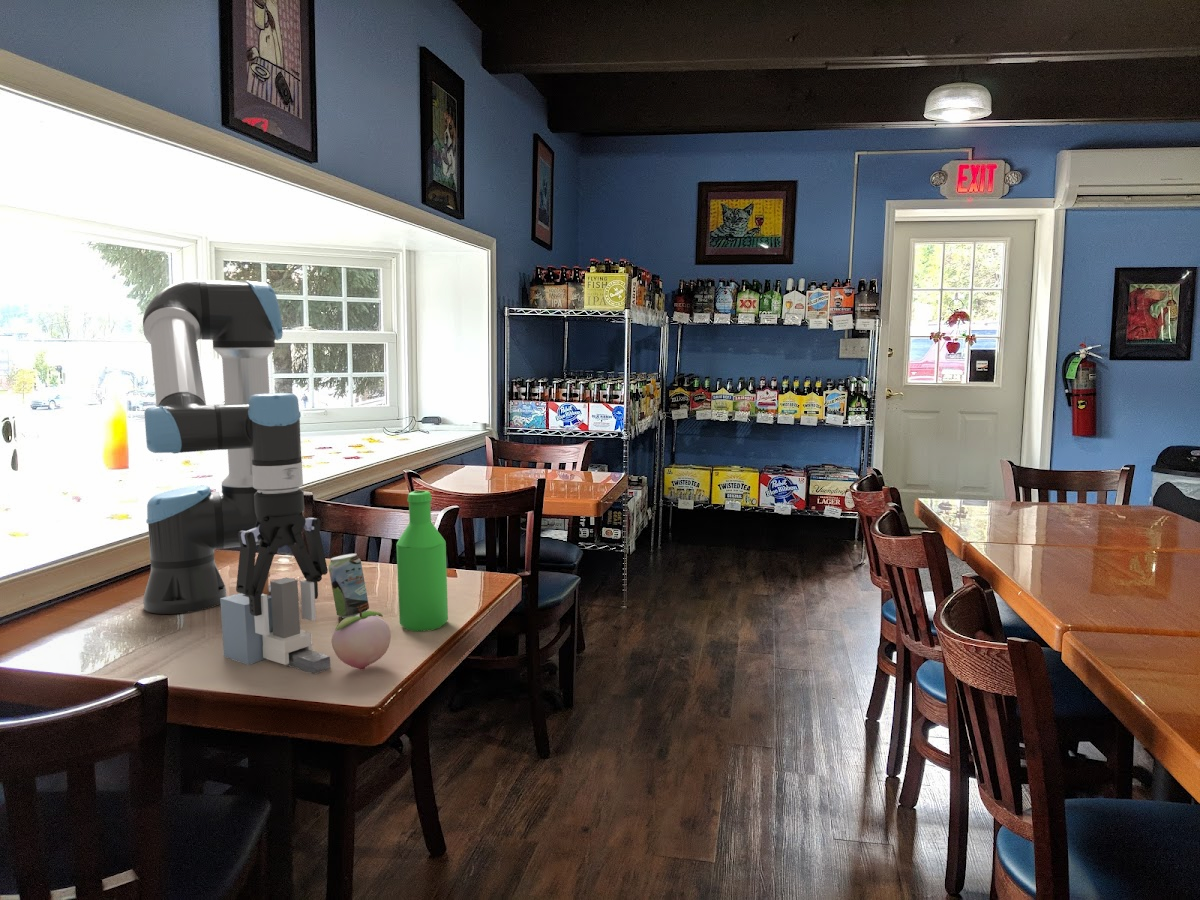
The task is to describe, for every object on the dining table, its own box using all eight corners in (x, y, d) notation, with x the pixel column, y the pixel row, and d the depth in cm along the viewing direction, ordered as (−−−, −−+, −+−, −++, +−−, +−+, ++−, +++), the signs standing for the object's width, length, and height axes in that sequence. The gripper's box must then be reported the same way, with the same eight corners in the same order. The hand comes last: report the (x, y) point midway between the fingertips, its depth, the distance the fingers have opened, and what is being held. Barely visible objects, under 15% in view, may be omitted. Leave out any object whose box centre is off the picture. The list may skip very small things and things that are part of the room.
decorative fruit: (367, 683, 130) (364, 620, 129) (324, 676, 133) (321, 614, 132) (403, 663, 139) (401, 603, 138) (362, 656, 142) (360, 598, 141)
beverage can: (360, 622, 160) (357, 559, 159) (324, 620, 162) (321, 558, 160) (375, 612, 166) (372, 551, 165) (340, 610, 168) (337, 550, 166)
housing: (223, 656, 143) (220, 598, 142) (276, 639, 151) (273, 584, 150) (248, 664, 139) (244, 605, 138) (301, 647, 147) (298, 590, 146)
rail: (269, 659, 141) (268, 647, 141) (285, 653, 144) (284, 642, 144) (314, 674, 134) (314, 662, 134) (330, 668, 137) (329, 656, 137)
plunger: (244, 603, 143) (242, 574, 143) (263, 598, 146) (261, 569, 146) (256, 606, 141) (255, 577, 141) (276, 601, 144) (274, 572, 144)
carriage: (263, 657, 140) (258, 581, 139) (290, 648, 145) (286, 574, 143) (285, 665, 137) (280, 587, 135) (312, 655, 141) (308, 579, 140)
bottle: (431, 635, 152) (427, 497, 149) (390, 630, 155) (384, 494, 152) (456, 620, 161) (452, 489, 158) (416, 615, 164) (412, 487, 161)
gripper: (232, 501, 127) (241, 649, 130) (346, 482, 144) (352, 613, 146) (204, 496, 131) (213, 640, 134) (318, 479, 148) (325, 606, 151)
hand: (286, 626), depth 140 cm, fingers open, 8 cm apart
